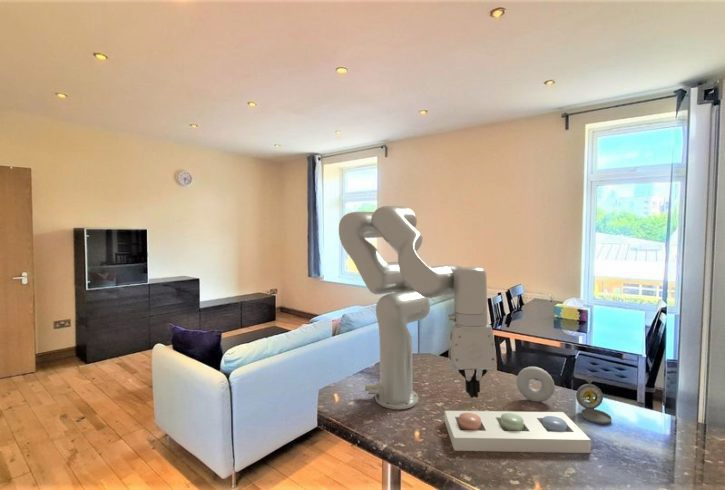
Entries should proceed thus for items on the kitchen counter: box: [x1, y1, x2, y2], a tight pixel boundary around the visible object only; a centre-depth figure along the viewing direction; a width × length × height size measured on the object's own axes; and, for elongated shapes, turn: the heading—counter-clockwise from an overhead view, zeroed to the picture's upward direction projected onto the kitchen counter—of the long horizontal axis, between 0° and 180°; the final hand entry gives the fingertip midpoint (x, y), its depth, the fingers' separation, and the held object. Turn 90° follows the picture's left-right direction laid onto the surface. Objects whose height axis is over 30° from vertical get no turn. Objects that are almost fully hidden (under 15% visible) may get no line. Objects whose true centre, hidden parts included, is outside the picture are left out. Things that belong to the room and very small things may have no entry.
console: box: [444, 410, 592, 454], centre depth 86 cm, size 30×12×3 cm, turn 87°
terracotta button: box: [459, 413, 481, 431], centre depth 87 cm, size 5×5×2 cm
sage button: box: [501, 413, 523, 431], centre depth 86 cm, size 5×5×2 cm
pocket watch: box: [575, 374, 613, 425], centre depth 95 cm, size 8×8×10 cm
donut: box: [516, 366, 556, 403], centre depth 103 cm, size 10×4×10 cm, turn 64°
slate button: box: [543, 416, 567, 432], centre depth 86 cm, size 5×5×2 cm
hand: (472, 395), depth 86 cm, fingers closed
